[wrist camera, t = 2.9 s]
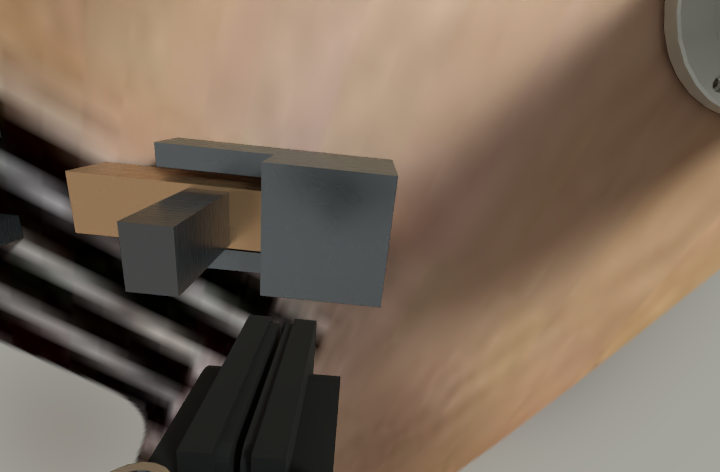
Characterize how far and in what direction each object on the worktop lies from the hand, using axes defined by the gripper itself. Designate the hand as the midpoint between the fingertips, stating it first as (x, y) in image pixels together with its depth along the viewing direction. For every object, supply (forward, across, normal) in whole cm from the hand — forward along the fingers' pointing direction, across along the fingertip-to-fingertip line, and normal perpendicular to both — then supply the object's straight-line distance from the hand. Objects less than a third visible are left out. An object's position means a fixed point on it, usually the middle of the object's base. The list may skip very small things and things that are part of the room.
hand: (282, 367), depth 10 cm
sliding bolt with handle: (+13, +5, -1) cm, 14 cm away
